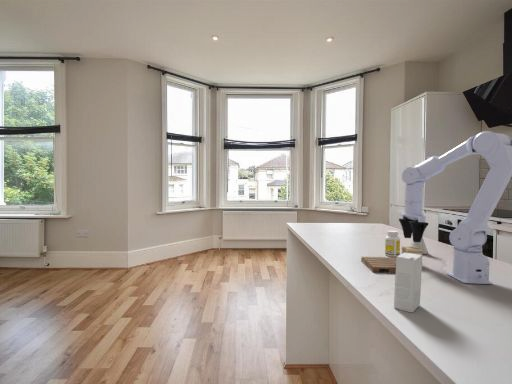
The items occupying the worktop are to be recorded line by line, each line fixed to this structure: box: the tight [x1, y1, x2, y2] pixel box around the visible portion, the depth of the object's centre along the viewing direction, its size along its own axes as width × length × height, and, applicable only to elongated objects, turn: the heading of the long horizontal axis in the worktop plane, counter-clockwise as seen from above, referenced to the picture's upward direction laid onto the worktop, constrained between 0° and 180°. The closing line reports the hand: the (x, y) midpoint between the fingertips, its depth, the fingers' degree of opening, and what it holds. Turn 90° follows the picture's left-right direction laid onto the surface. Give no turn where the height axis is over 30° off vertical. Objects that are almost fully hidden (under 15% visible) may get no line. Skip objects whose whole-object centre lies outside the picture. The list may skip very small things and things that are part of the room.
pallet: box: [360, 256, 397, 274], centre depth 106 cm, size 14×12×2 cm
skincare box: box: [393, 253, 423, 313], centre depth 71 cm, size 6×4×12 cm
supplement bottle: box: [384, 230, 401, 258], centre depth 123 cm, size 5×5×10 cm
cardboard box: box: [401, 245, 423, 256], centre depth 110 cm, size 5×5×6 cm
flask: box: [410, 236, 429, 255], centre depth 129 cm, size 7×7×10 cm
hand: (412, 239), depth 110 cm, fingers open, 7 cm apart
